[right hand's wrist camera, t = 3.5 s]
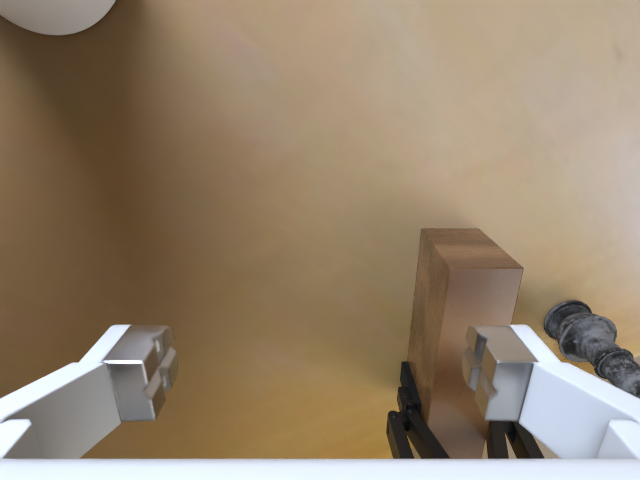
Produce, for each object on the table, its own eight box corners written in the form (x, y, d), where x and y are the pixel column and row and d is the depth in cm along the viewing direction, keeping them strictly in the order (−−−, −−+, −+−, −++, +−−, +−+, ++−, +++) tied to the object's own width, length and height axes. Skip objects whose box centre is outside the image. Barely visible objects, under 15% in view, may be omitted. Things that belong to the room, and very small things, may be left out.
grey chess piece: (605, 316, 43) (704, 395, 32) (564, 350, 45) (645, 436, 34) (571, 289, 42) (662, 361, 31) (530, 325, 44) (602, 406, 32)
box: (421, 228, 39) (449, 267, 31) (479, 228, 39) (524, 268, 31) (403, 393, 48) (422, 461, 39) (451, 393, 48) (481, 461, 39)
